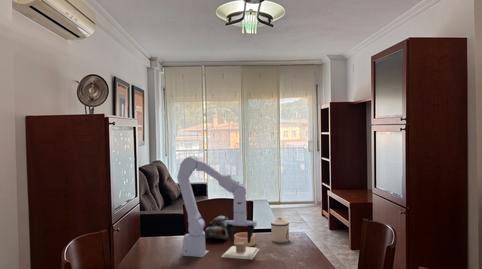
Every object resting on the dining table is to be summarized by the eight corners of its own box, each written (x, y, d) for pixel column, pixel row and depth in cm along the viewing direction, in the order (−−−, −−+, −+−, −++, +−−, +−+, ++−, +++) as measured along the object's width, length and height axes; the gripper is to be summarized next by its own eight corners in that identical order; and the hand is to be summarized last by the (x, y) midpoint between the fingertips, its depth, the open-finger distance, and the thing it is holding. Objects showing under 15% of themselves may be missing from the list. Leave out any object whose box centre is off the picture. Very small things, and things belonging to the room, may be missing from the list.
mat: (221, 257, 157) (220, 256, 157) (231, 247, 171) (231, 246, 171) (251, 260, 153) (251, 259, 153) (259, 249, 167) (259, 248, 167)
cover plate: (223, 256, 158) (223, 246, 158) (232, 247, 170) (232, 238, 170) (250, 258, 155) (250, 248, 155) (257, 249, 166) (257, 240, 166)
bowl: (231, 247, 172) (231, 237, 172) (238, 240, 181) (237, 231, 181) (252, 248, 169) (251, 238, 169) (257, 242, 178) (257, 233, 178)
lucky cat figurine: (198, 237, 188) (206, 211, 194) (219, 244, 192) (226, 218, 197) (208, 236, 175) (216, 208, 181) (230, 243, 179) (237, 215, 184)
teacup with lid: (290, 242, 176) (289, 219, 176) (271, 243, 176) (271, 219, 176) (287, 235, 188) (287, 213, 188) (270, 236, 188) (269, 213, 188)
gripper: (257, 210, 164) (258, 240, 164) (227, 209, 168) (228, 238, 168) (253, 213, 157) (254, 244, 157) (222, 212, 161) (223, 242, 161)
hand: (240, 241), depth 162 cm, fingers open, 7 cm apart
